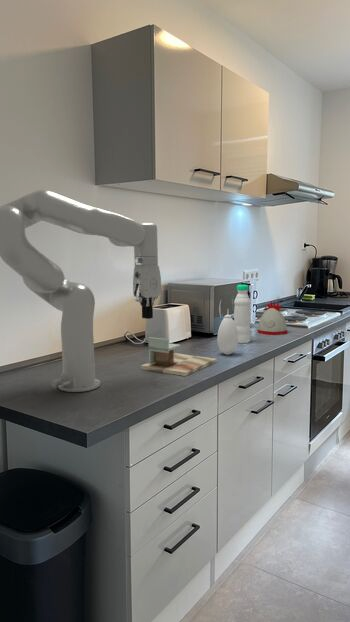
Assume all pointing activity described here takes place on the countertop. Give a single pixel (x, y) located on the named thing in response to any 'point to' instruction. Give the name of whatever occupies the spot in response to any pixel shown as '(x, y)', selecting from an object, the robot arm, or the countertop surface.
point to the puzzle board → (182, 365)
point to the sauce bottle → (227, 335)
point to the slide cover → (159, 347)
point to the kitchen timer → (272, 321)
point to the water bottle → (242, 314)
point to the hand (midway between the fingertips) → (147, 318)
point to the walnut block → (165, 359)
